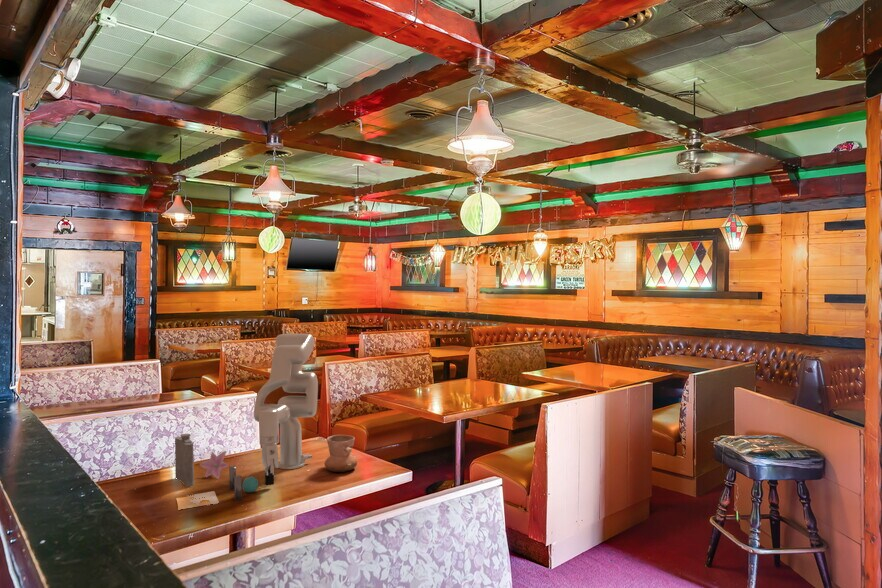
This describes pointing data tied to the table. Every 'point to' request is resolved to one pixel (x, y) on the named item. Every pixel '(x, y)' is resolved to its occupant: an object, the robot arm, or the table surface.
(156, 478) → the table surface
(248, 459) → the table surface
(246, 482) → the ball
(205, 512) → the table surface
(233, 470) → the post
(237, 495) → the post
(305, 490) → the table surface
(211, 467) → the lily
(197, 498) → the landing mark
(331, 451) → the ceramic jug
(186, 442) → the hip flask
